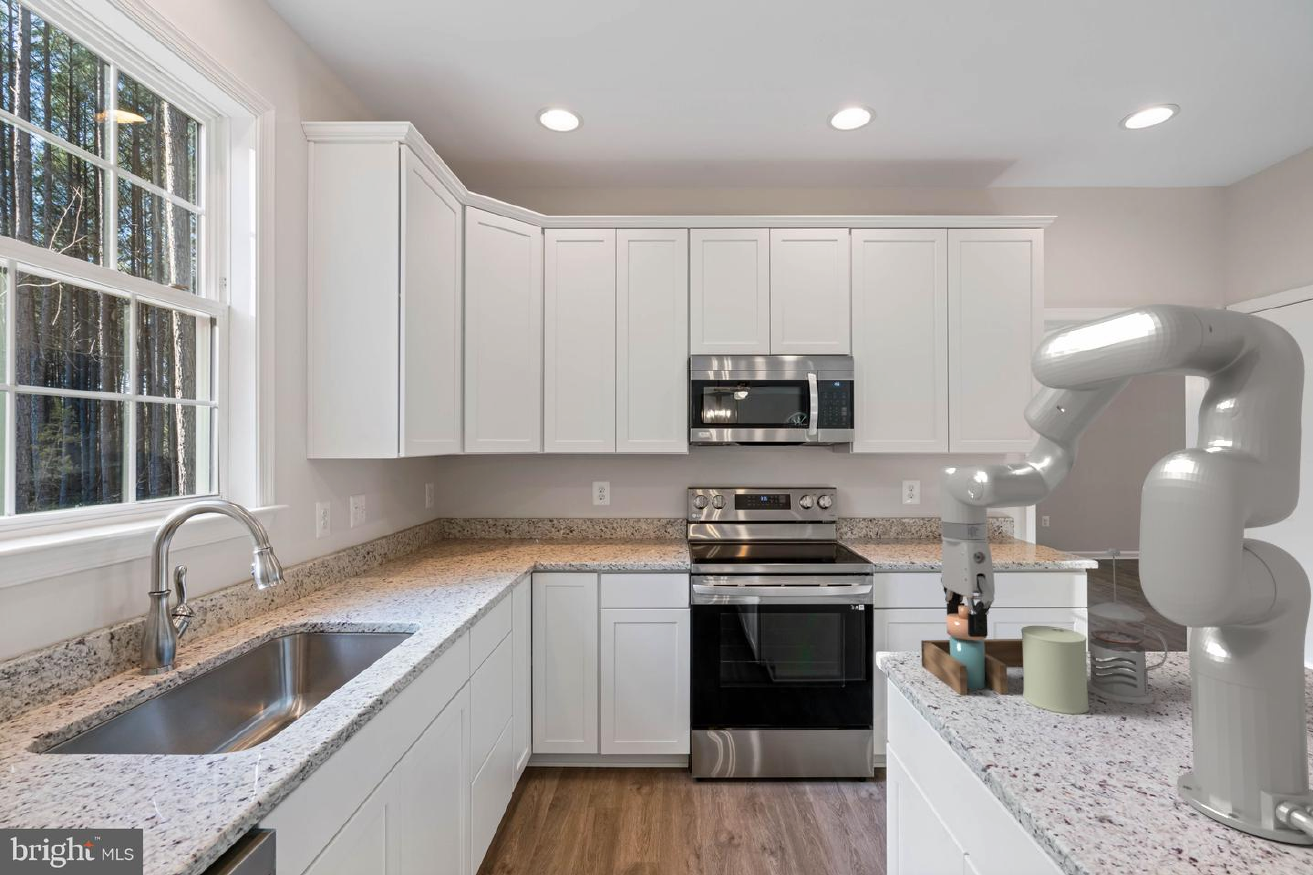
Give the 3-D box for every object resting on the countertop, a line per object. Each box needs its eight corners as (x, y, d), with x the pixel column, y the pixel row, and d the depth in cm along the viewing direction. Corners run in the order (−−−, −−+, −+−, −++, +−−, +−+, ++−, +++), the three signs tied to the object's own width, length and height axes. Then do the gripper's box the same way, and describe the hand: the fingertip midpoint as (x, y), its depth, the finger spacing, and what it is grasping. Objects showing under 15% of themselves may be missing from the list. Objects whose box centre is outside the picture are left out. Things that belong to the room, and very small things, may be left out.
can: (1092, 701, 98) (1090, 629, 98) (1085, 719, 91) (1082, 642, 92) (1029, 686, 104) (1027, 619, 105) (1017, 703, 97) (1015, 631, 98)
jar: (992, 689, 103) (990, 643, 103) (961, 689, 103) (960, 644, 103) (974, 677, 109) (973, 634, 109) (944, 677, 109) (943, 634, 109)
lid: (994, 639, 103) (993, 611, 103) (958, 640, 103) (957, 611, 103) (973, 629, 109) (973, 602, 110) (940, 629, 109) (939, 602, 109)
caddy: (1081, 692, 101) (1080, 663, 101) (960, 694, 101) (959, 665, 101) (1028, 663, 115) (1027, 638, 115) (921, 665, 115) (921, 640, 115)
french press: (1088, 676, 109) (1084, 542, 109) (1171, 694, 100) (1166, 549, 101) (1078, 692, 102) (1074, 549, 102) (1166, 712, 93) (1161, 556, 94)
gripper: (1014, 538, 98) (1017, 645, 98) (958, 526, 116) (961, 616, 115) (970, 538, 98) (973, 646, 97) (921, 526, 115) (923, 617, 115)
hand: (966, 629), depth 106 cm, fingers closed on lid, 6 cm apart
